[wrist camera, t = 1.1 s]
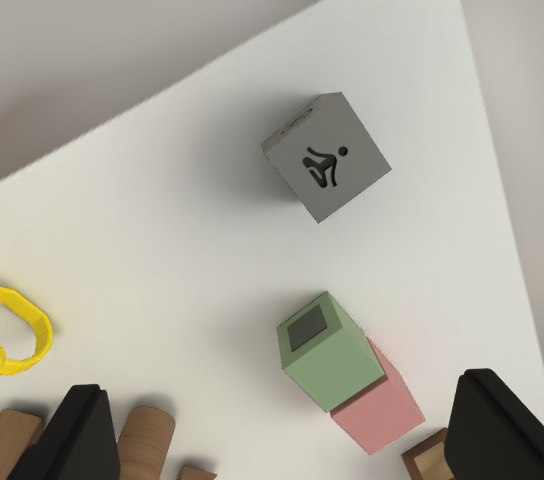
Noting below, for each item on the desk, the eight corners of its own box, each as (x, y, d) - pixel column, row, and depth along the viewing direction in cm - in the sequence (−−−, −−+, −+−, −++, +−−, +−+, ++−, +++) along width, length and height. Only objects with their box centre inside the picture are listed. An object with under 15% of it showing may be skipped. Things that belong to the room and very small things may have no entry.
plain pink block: (366, 335, 30) (388, 378, 26) (400, 373, 32) (426, 420, 27) (317, 369, 31) (329, 416, 26) (352, 405, 33) (370, 455, 28)
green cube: (326, 289, 29) (342, 326, 24) (363, 332, 30) (385, 374, 25) (275, 327, 29) (281, 369, 25) (314, 366, 31) (326, 413, 26)
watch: (-20, 289, 27) (-90, 338, 21) (6, 267, 26) (-58, 311, 21) (46, 344, 29) (-3, 402, 23) (72, 324, 28) (28, 379, 23)
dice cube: (261, 144, 25) (264, 154, 20) (322, 94, 24) (341, 92, 19) (305, 202, 26) (318, 224, 21) (364, 157, 25) (391, 169, 21)
